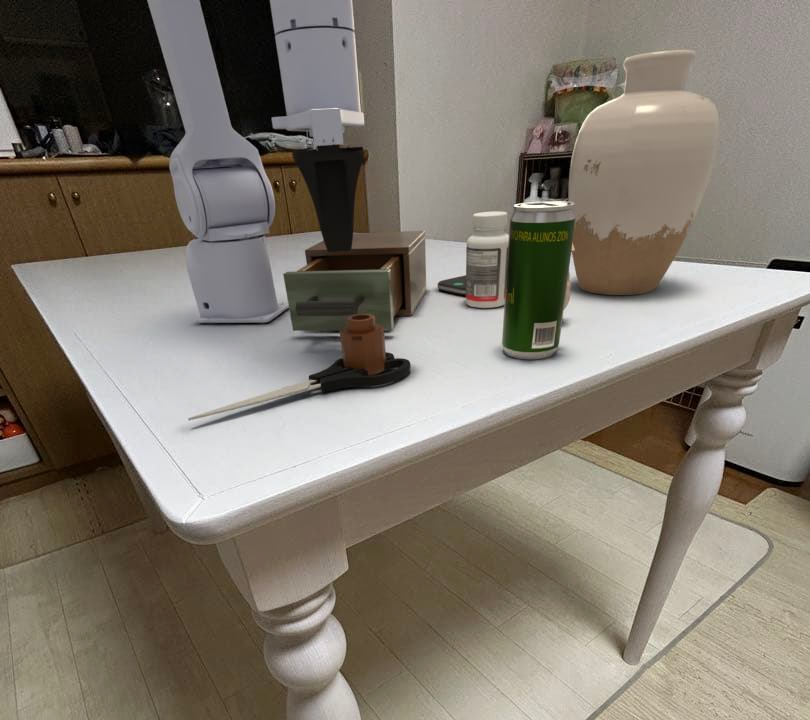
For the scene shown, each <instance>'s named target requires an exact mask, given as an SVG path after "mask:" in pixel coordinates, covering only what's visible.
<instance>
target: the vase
mask: <svg viewBox="0 0 810 720" xmlns="http://www.w3.org/2000/svg"><path fill="white" fill-rule="evenodd" d="M696 58H697V52H696V51H695V50H692V49H671V50H660V51H652V52H651V51H650V52H645V53H639V54H635V55H631V56H628V57H626V58H625V60H624V61H623V69H624V71H625V83H624V90H623V93H622V94H621V95H620V96H618V97H615V98H613V99H611V100H609V101H607V102H605V103H603V104H601V105H598V106H596V107H595V108H594V109H593V110H591V112H589V113H588V115H587V116H586V117H585V119H584V121H583V122H582V124H581V126H580V129H579V132H578V134H577V136H576V139H575V143H574V146H573V151H572V155H571V160H570V168H569V175H568V176H569V177H568V195H567V196H568V202H573V203H575V205H574V208H573V210H574V213H575V217H576V220H575V227H574V235H573V245H574V249H575V251H572V252H571V256H572V261H573V265H574V266H573V267H574V271H575V276H576V279H577V282H578V286H579V288H580V289H581V290H582V291H585V292H588V293H592V294H597V295H607V296H633V295H642V294H647V293H651V292H653V291H655V290H656V288H657V287H658V286H659V284H660V283H661V281H662V280H663V279H664V277H665V275H666V273H667V272H668V270H669V268H670V267H671V265H672V263H673V261H674V260H675V258H676V256H677V255H678V253H679V251H680V250H681V247H682V245H683V243H684V241H685V239H686V238H687V236H688V234H689V231H690V229H691V228H692V225H693V222H694V221H695V218H696V216H697V213H698V211H699V208H700V206H701V203H702V200H703V198H704V196H705V193H706V190H707V187H708V185H709V182H710V179H711V176H712V172H713V169H714V167H715V161H716V156H717V153H718V146H719V138H720V117H719V111H718V109H717V106H716V104H715V103H714V102H713V101H712V100H711V99H710V98H708V97H706V96H703V95H700V94H699V93H695V92H691V91H688V90H686V89H685V87H686V82H687V78H688V74H689V70H690V68H691V66H692V64H693V63H694V62H695V61H696Z"/></svg>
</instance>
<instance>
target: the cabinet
mask: <svg viewBox="0 0 810 720" xmlns="http://www.w3.org/2000/svg"><path fill="white" fill-rule="evenodd" d="M382 254H403V263H404V285H405V301H404V303H403V304H402V306H401V307H400V309H399V310H398V311H397V313H396V314H395V316H394V317H412V316H413V314H414V312H415V311H416V309H417V307H418V306H419V304H420V302H421V301H422V298H423V297H424V296H425V294H426V292H427V260H426V259H427V258H426V257H427V256H426V231H425V230H408V231H381V232H380V231H378V232H376V231H375V232H357V233H356V232H355V233H354V232H353V241H352V248H351V250H350V251H338V252H328V251H327V248H326V246H325V243H324V240H323V239H322V240H321V241H320V242H318V243H316V244H314V245H311V246H310V247H308V248H306V249H304V255H305V261H306V265H308V264H309V263H311V262H313V261H314V260H316V259H318V258H319V257H321V256H347V255H382Z"/></svg>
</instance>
